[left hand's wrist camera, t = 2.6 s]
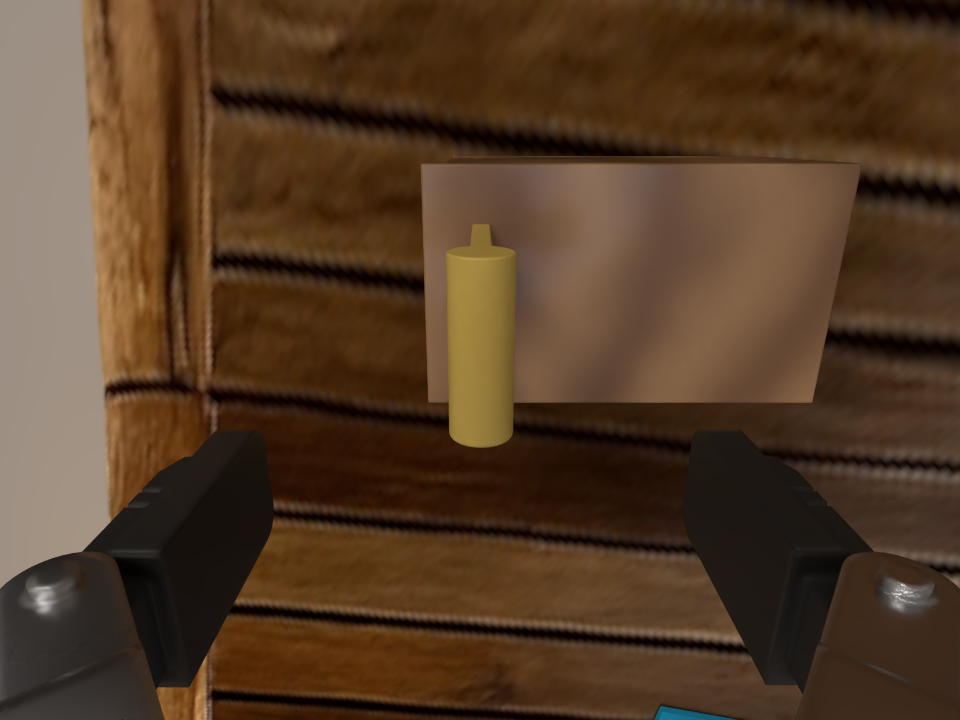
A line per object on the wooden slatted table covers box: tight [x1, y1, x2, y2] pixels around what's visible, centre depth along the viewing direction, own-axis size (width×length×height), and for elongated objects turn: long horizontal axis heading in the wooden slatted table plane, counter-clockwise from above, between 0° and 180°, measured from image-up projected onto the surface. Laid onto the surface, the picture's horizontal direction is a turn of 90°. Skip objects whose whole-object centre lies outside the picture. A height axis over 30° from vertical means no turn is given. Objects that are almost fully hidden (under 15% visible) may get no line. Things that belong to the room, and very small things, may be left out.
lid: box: [421, 163, 862, 448], centre depth 21 cm, size 17×10×9 cm, turn 90°
